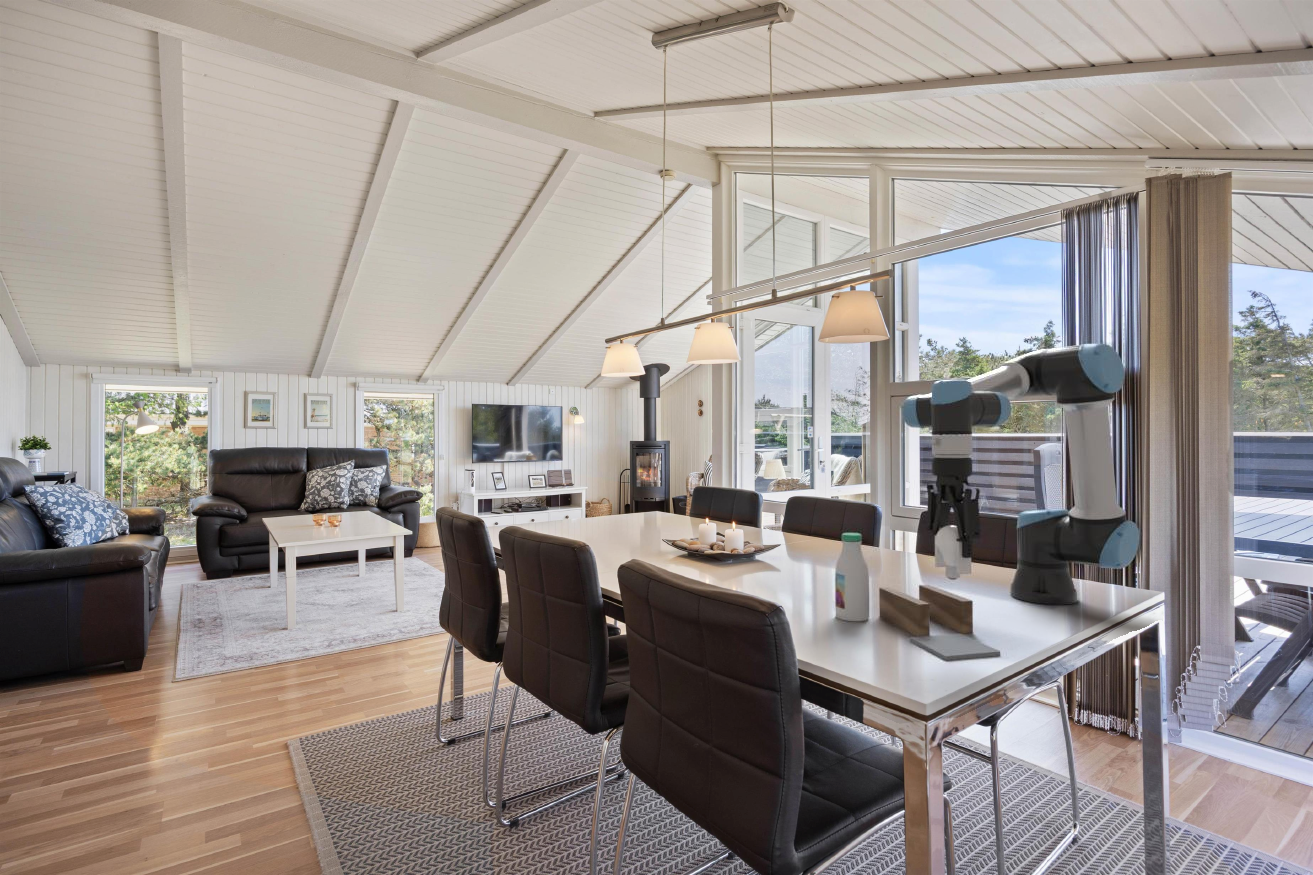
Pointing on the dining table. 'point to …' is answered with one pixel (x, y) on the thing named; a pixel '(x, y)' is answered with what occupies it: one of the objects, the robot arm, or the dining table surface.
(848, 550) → the milk bottle
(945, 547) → the lightbulb
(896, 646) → the dining table surface
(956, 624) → the walnut slot
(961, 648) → the grey pad
